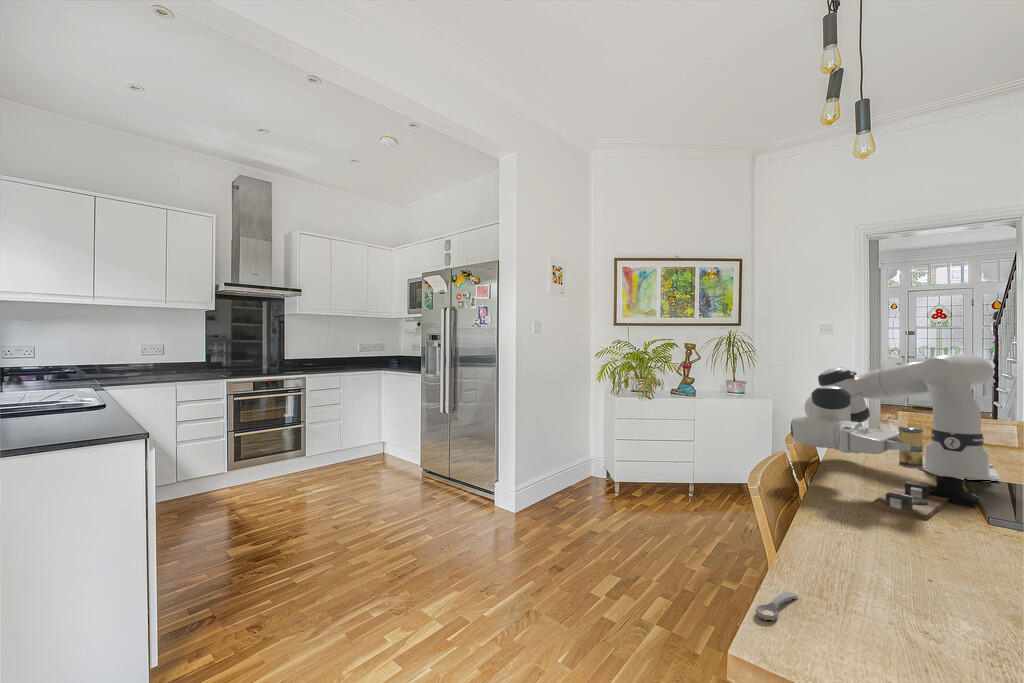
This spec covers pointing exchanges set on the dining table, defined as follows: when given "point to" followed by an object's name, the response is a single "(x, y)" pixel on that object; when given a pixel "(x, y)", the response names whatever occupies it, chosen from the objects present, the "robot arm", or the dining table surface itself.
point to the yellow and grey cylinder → (915, 455)
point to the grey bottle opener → (774, 605)
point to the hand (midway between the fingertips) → (915, 445)
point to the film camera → (953, 491)
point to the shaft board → (916, 508)
